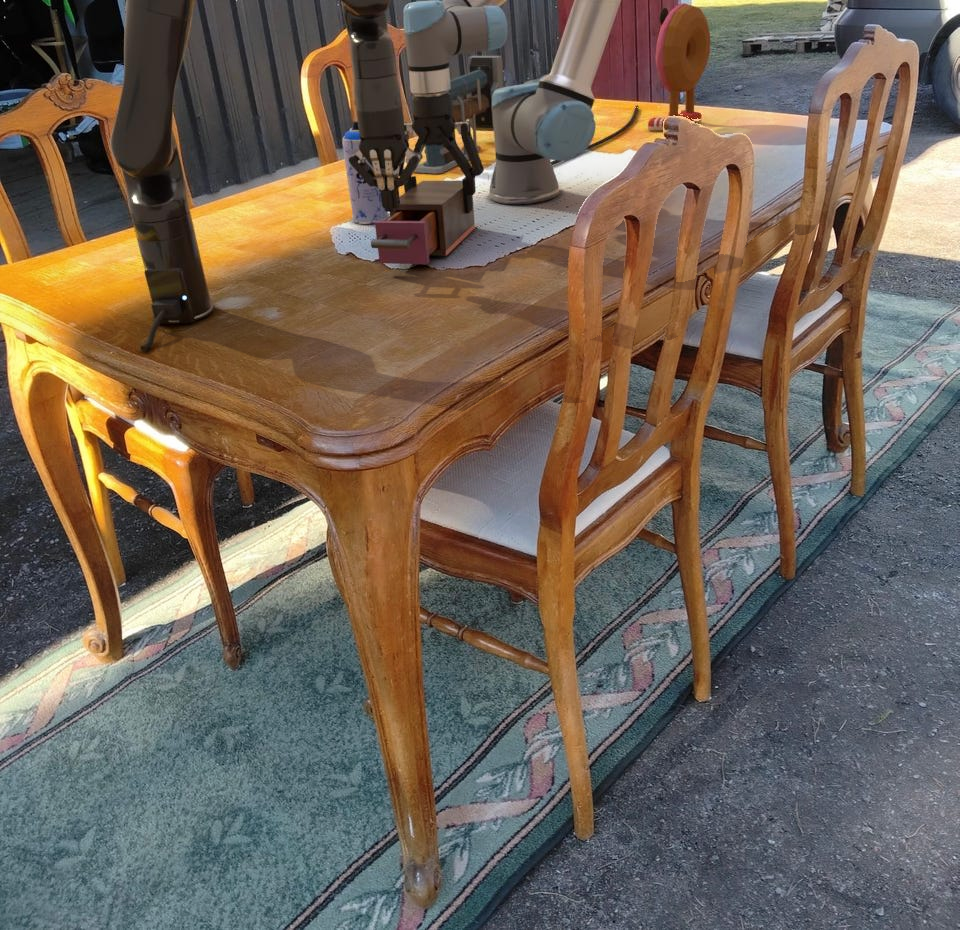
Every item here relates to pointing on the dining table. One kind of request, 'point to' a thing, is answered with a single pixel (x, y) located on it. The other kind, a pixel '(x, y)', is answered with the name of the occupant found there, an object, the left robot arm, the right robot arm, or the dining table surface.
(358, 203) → the aerosol can
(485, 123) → the clamp
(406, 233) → the drawer
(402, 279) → the dining table surface
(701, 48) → the toy
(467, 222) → the cabinet
